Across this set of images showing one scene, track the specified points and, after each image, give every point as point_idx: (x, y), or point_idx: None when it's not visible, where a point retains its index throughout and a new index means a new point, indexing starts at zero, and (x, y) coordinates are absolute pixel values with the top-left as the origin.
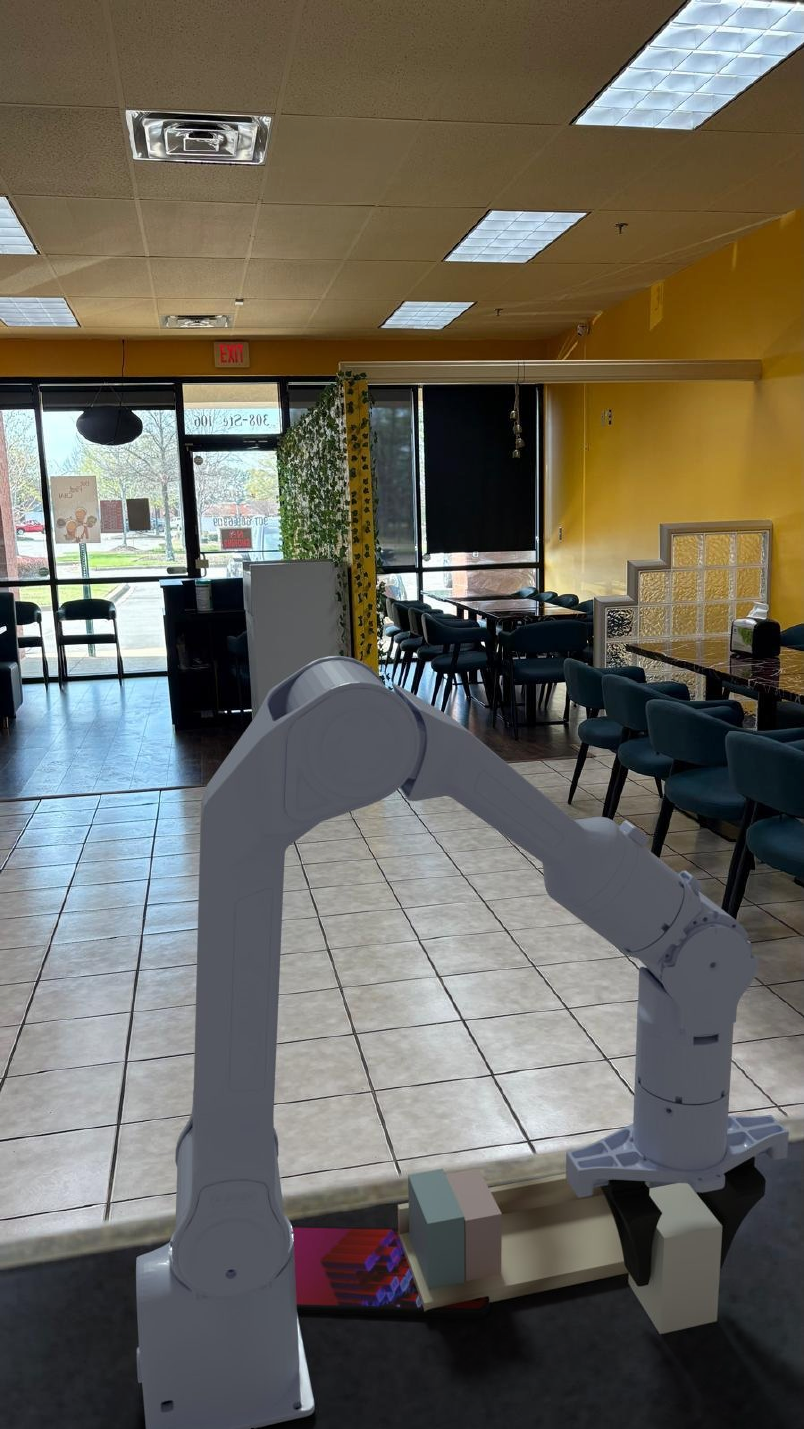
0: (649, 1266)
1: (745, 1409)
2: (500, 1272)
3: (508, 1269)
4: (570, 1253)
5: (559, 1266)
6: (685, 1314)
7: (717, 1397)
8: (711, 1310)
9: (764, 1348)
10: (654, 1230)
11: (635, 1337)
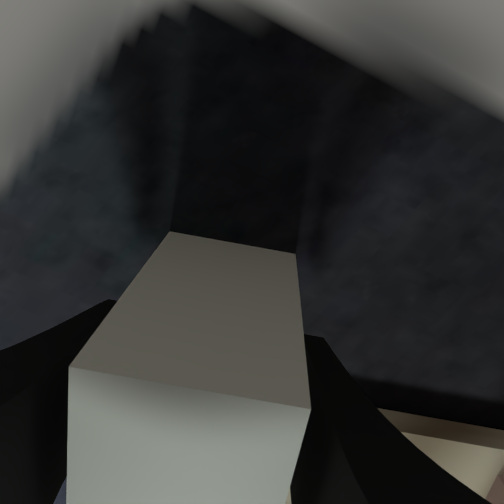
0: (316, 361)
1: (262, 22)
2: (501, 478)
3: (479, 476)
4: None
5: None
6: (237, 256)
7: (296, 76)
8: (177, 243)
9: (121, 134)
10: (344, 448)
11: (344, 267)
